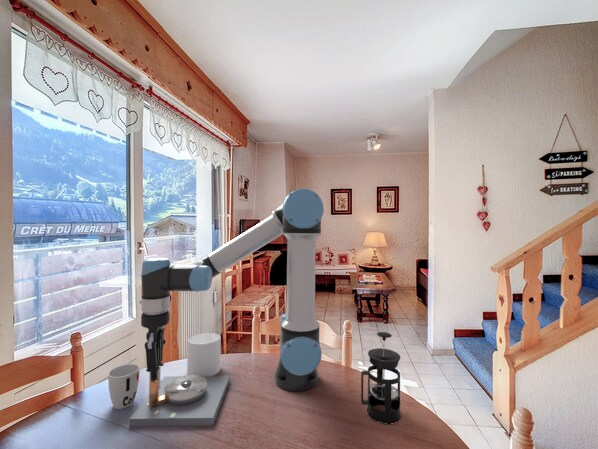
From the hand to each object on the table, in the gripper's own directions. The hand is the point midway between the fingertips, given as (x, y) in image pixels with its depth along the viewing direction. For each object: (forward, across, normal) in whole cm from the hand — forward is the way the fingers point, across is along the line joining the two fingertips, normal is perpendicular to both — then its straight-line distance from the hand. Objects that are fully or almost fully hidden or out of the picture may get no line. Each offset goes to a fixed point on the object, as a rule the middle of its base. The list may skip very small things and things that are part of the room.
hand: (154, 390), depth 86 cm
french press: (+5, +17, +64) cm, 67 cm away
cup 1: (+5, -3, -9) cm, 11 cm away
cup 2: (+5, -19, +12) cm, 23 cm away
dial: (+2, 0, +7) cm, 7 cm away
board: (+5, 0, +9) cm, 10 cm away
